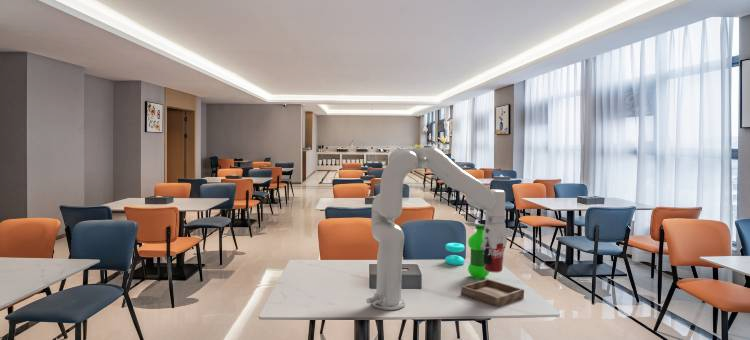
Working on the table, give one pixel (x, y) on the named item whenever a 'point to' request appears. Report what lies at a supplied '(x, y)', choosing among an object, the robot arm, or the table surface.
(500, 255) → the soda can
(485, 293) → the walnut tray
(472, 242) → the plastic bottle
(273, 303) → the table surface
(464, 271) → the table surface
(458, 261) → the donuts
